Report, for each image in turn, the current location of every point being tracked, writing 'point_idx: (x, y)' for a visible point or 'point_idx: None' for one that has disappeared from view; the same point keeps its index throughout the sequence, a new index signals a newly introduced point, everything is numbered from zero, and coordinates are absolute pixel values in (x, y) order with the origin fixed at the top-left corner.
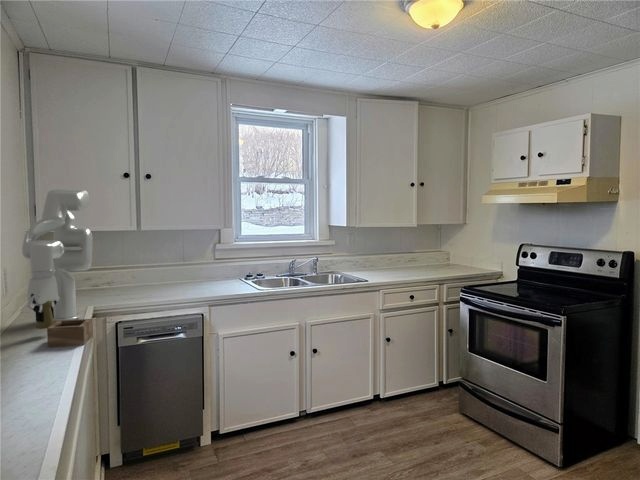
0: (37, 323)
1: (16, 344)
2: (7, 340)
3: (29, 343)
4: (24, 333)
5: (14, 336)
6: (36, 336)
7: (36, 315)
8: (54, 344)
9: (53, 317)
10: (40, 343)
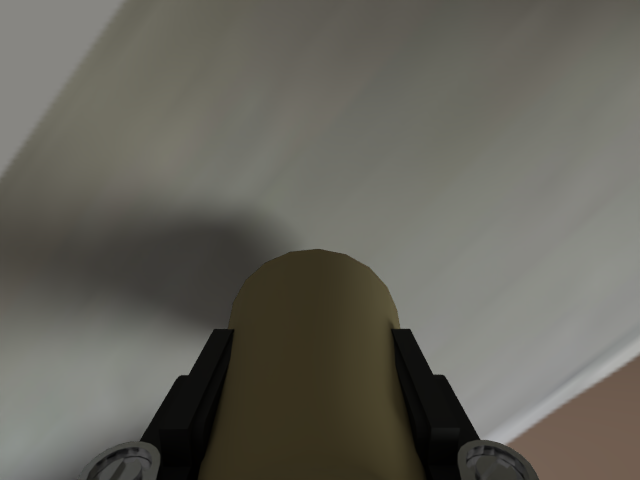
0: (229, 326)
1: (40, 268)
2: (92, 76)
3: (102, 343)
4: (332, 17)
5: (217, 14)
6: (277, 227)
7: (157, 427)
8: None
9: None
10: (133, 417)
